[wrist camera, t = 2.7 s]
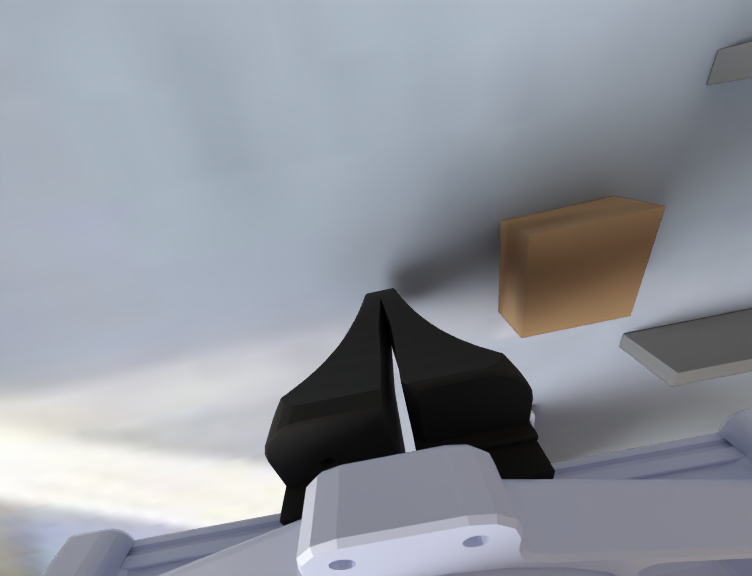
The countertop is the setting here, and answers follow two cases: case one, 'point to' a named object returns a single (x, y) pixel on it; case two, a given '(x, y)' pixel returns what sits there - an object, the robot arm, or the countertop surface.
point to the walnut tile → (575, 263)
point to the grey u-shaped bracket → (708, 335)
